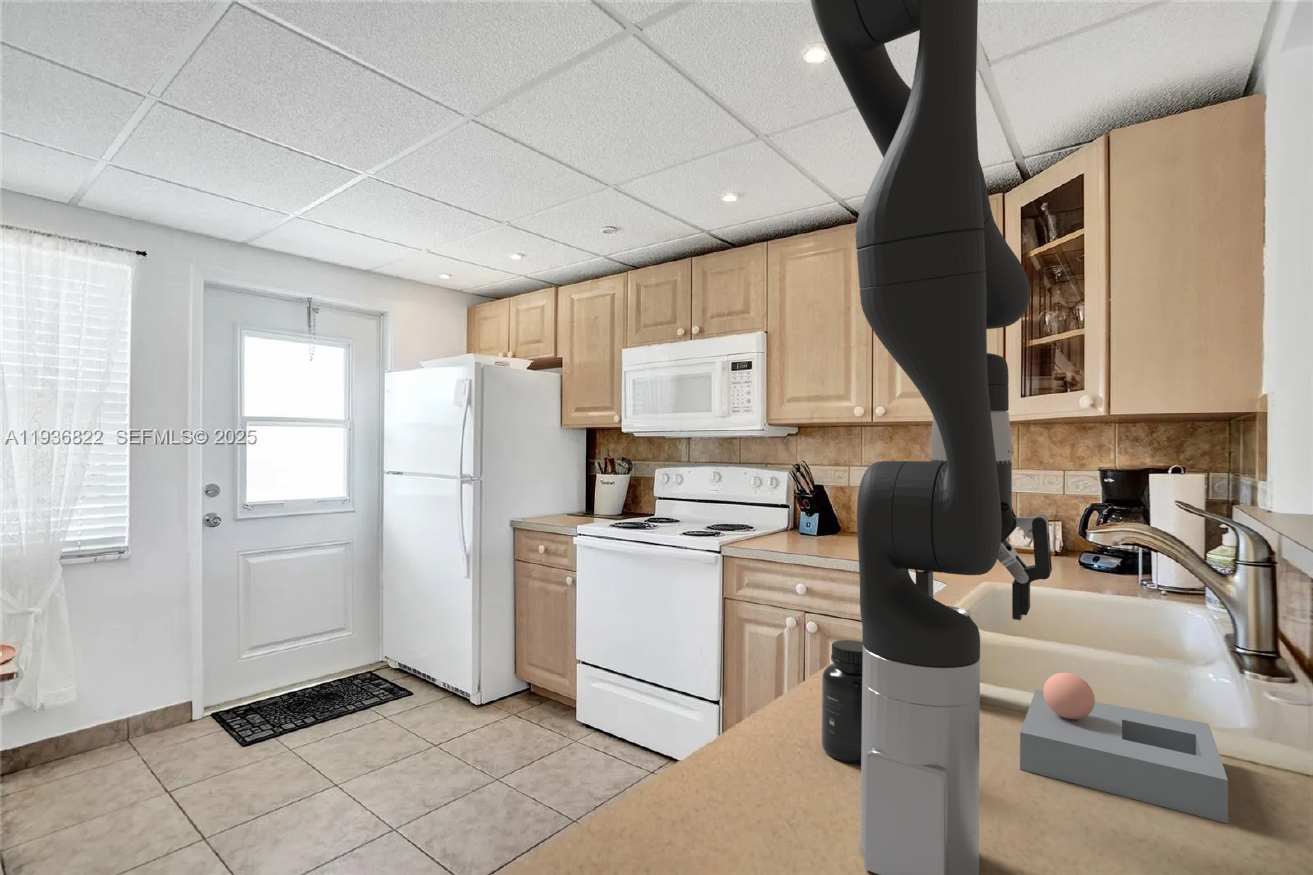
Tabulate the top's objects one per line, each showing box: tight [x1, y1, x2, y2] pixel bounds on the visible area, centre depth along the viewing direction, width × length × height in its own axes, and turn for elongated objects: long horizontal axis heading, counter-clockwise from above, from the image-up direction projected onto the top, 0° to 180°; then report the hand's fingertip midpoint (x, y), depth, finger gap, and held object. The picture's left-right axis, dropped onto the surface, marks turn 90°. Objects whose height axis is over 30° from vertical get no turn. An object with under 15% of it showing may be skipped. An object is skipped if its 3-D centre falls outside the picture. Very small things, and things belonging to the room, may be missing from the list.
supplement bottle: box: [821, 639, 863, 765], centre depth 74 cm, size 7×7×12 cm
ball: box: [1042, 672, 1096, 719], centre depth 75 cm, size 5×5×5 cm
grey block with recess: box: [1019, 689, 1229, 824], centre depth 72 cm, size 16×17×4 cm
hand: (971, 611), depth 67 cm, fingers open, 8 cm apart
